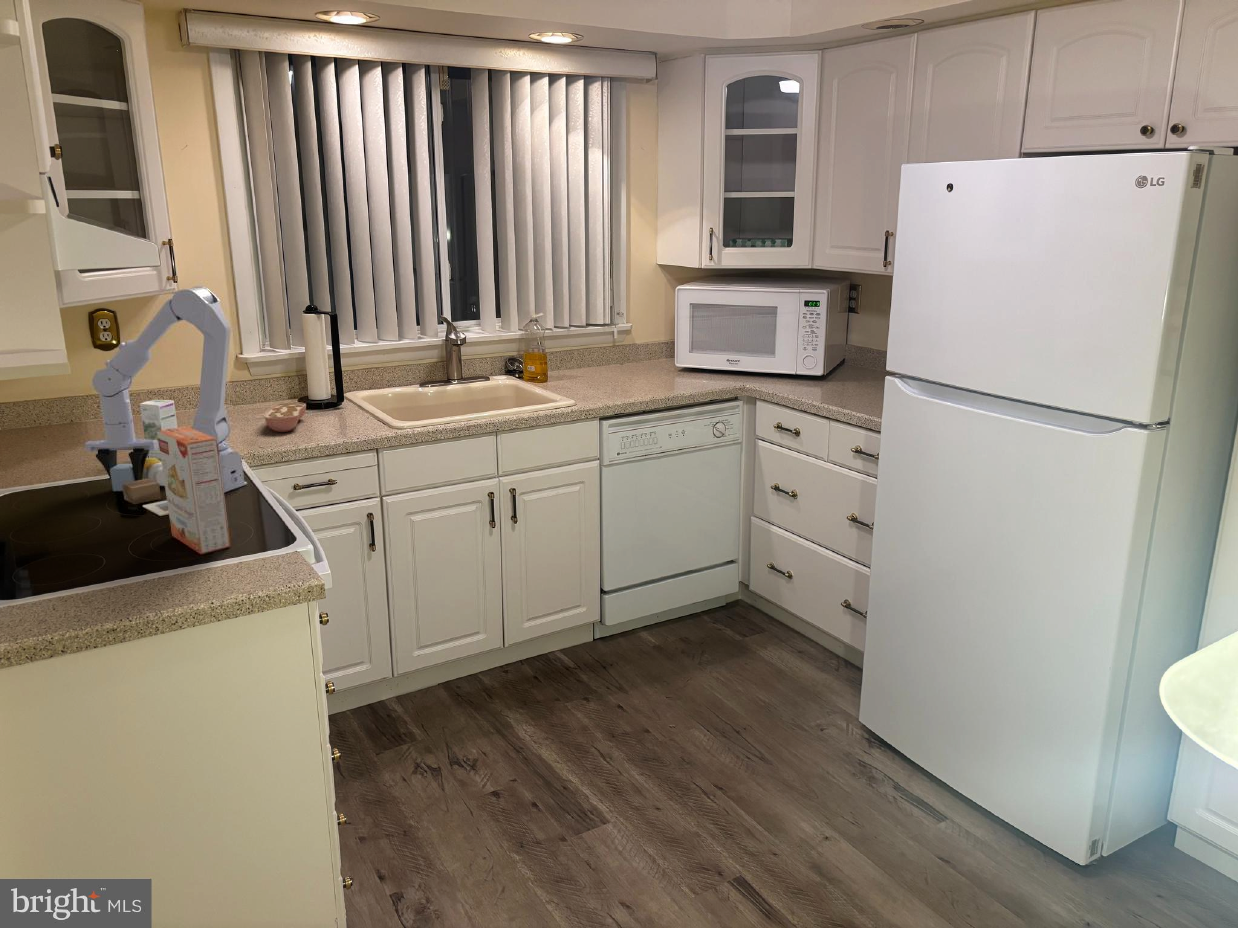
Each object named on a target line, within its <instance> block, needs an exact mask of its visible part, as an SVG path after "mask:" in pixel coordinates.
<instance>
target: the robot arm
mask: <svg viewBox="0 0 1238 928" xmlns="http://www.w3.org/2000/svg"><path fill="white" fill-rule="evenodd" d="M182 321H186V322H187V323H190V324H191V325H193V326H194V327H195V328H196V329H197V330H198V331H199V332H200V333H201V334H202V335H203V347H202V357H201V358H202V359H201V360H202V361H201V370H200V371H201V372H200V385H199V397H198V407H197V410H196V412H195V414H194V416H193V423H192V426H191V427H190V428H192V429H194V430H196V431H199V432H201V433H204V434H206V435H208V436H211V437H213V438H216V439H217V441H218V449H219V457H220V466H221V474H222V482H223V490H224V493H226V492H229V491H231V490H235V489H238V488H240V487H243V486H246V485H248V482H247V481H245V476H244V467H243V459H242V456H241V454H240V453H239V452H238V451H235V450H233V449H231V448H230V444H229V442H228V440H227V438H229V436H230V434H231V425H230V423H229V420H228V411H227V409H226V408H225V401H226V400H225V399H226V396H225V395H226V386H227V373H228V363H229V350H230V339H231V338H230V337H231V326H230V323H229V321H228V319H227V317H226V315H225V313H224V311H223V309H222V306H221V301H220V298H219V297H217V296H216V294H214V293H213V292H212V291H211V290H210V289H209V288H207V287H206V286H205V287H204V286H198V285H197V286H193V287H191V288H187V289H185V288H183V289H180V290H177V291H176V292H174V294H173V296H172V297H171V298H169V299H168V300H167V301H165V302H164V304H163V305H162V306H161V308H160V309H159V310H158V312H157V313H156V314H155V315H154V317H153V318H152V319H151V321H150V322H149V323H148V324H147V325H146V327H144V329H143V331H142V332H141V333H140V335H139V336H138V337H137V339H129V340H127V341H126V342H120V344H119V345H118V346H117V349H118V351H117V352H116V353H115V355H113V357H112V358H111V359H110V360H109V359H107V360H106V361H105V362H104V365H105V368H101V369H98V370H96V371H95V374H94V375H93V377H92V387H93V389H94V390H95V391H96V392H97V393H98V395H99V402H100V410H101V417H102V422H103V428H104V435H105V439H104V440H103V439H102V440H89V441H87V442H85V443H84V444H85V450H86V451H85V452H87V453H89V452H96V451H97V453H95V457H96V460H98V461H99V462H100V464H101V465H102V466H103V468H104V469H105V471H106V473H107V475H108V477H109V480H110V482H111V483H112V480H111V474H110V469H111V468H113V467H114V466H116V465H118V451H130V452H129V453H128V457H129V459H130V462H131V463H130V464H132V466H133V472H134V479H135V481H138V480H143V469H144V465H145V461H146V459H147V458H148V453H149V450H155V449H157V448H158V445H157V440H147V439H145V438H142V439H141V438H136V434H135V427H134V420H133V419H134V418H133V412H132V406H131V400H130V392H129V389H130V388H131V386H132V383H133V379H135V377H136V376H137V375H138V373H140V372H141V370H142V369H143V368H144V367H145V366H146V364H148V362H149V361H150V360H151V358H152V353H151V351H152V350H151V349H152V348H153V347H154V346H155V344H157V342H158V341H160V339H161V338H162V337H164V335H165V334H166V333H167V332H168V331H169V330H170V329H171V327H172V326H174V324H176V323H178V322H182Z"/></svg>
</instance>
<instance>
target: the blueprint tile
mask: <svg viewBox="0 0 1238 928" xmlns="http://www.w3.org/2000/svg"><path fill="white" fill-rule="evenodd" d="M142 507H143V508H144V509H146V510H148V511H150V512H152V513H154V514H156V515H158V516H160V517H161V516H165V515H169V510H168V503H167V499H165V500H163V501H157V502H153V503H148V504H143V505H142Z"/></svg>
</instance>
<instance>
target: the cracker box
mask: <svg viewBox="0 0 1238 928" xmlns="http://www.w3.org/2000/svg"><path fill="white" fill-rule="evenodd" d="M157 435H158V441H159V448H160V455H161V460H160V461H162V469H163V476H164V483H165V486H164V489H165V495H166V500H167V503H168V510H169V514H168V517H169V523H170V528H171V529H170V530H171V535H172V536H171V537H173V538H175V539H176V540H178V541H180V542H181V543H183V544H184V545H185V546H187V547H189V548H190V549H191V550H194V551H195V552H196V553H198V554H199V555H204V554H209V553H212V552H215V551H220V550H223V549H226V548H230V547H231V545H232V544H231V539H230V531H229V522H228V515H227V509H226V508H227V507H226V499H225V492H224V490H223V482H222V474H221V466H220V457H219V449H218V441H217V439H216V438H213V437H211V436H208V435H206V434H204V433H201V432H199V431H196V430H194V429H192V428H191V427H189V426H181V427H177V428H173V429H166V430H161V431H158V432H157Z"/></svg>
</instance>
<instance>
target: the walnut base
mask: <svg viewBox="0 0 1238 928" xmlns="http://www.w3.org/2000/svg"><path fill="white" fill-rule="evenodd" d="M122 487H123V491H122V494H123V498H124V500H125V501H127V502H128V503H131V504H132V505H138V504H142V503H146V502H152V501H157V500H161V498H162V497H161V490H160V486H159V483H158V482H155V481H153V480H151V479H149V478H148V479H143V478H142V480H138V481H133V482H127V483H122Z"/></svg>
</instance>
